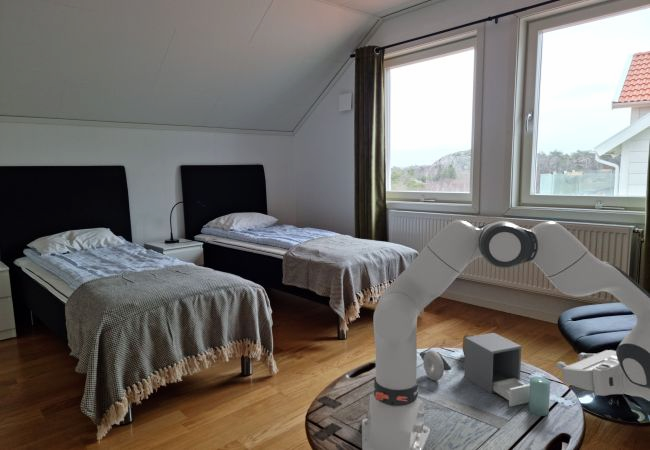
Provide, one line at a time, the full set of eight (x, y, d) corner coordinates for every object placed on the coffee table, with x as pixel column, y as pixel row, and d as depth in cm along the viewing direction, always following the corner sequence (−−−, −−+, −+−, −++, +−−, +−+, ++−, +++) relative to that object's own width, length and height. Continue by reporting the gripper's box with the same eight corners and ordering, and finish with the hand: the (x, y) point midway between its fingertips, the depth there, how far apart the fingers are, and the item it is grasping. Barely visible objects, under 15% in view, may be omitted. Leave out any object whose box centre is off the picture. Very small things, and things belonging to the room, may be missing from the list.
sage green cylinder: (550, 417, 132) (552, 385, 130) (530, 414, 133) (531, 383, 132) (546, 407, 137) (548, 377, 135) (527, 405, 138) (528, 375, 137)
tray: (541, 399, 141) (542, 382, 141) (510, 406, 137) (511, 389, 136) (513, 382, 152) (514, 367, 151) (484, 388, 148) (484, 373, 147)
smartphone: (438, 353, 178) (438, 351, 178) (451, 370, 163) (451, 368, 163) (418, 354, 177) (419, 352, 177) (430, 371, 162) (430, 369, 162)
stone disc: (460, 354, 175) (460, 330, 174) (469, 354, 176) (470, 329, 174) (472, 366, 165) (472, 340, 164) (481, 365, 166) (482, 339, 164)
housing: (519, 386, 150) (521, 346, 148) (490, 393, 145) (491, 351, 144) (492, 370, 162) (493, 332, 160) (464, 376, 157) (465, 337, 156)
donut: (445, 384, 152) (446, 356, 150) (436, 386, 150) (437, 357, 149) (429, 372, 161) (430, 345, 160) (421, 373, 160) (421, 346, 159)
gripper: (643, 351, 118) (591, 340, 130) (594, 372, 109) (543, 358, 121) (645, 374, 118) (593, 361, 130) (597, 398, 109) (546, 381, 121)
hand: (569, 360), depth 126 cm, fingers open, 8 cm apart
